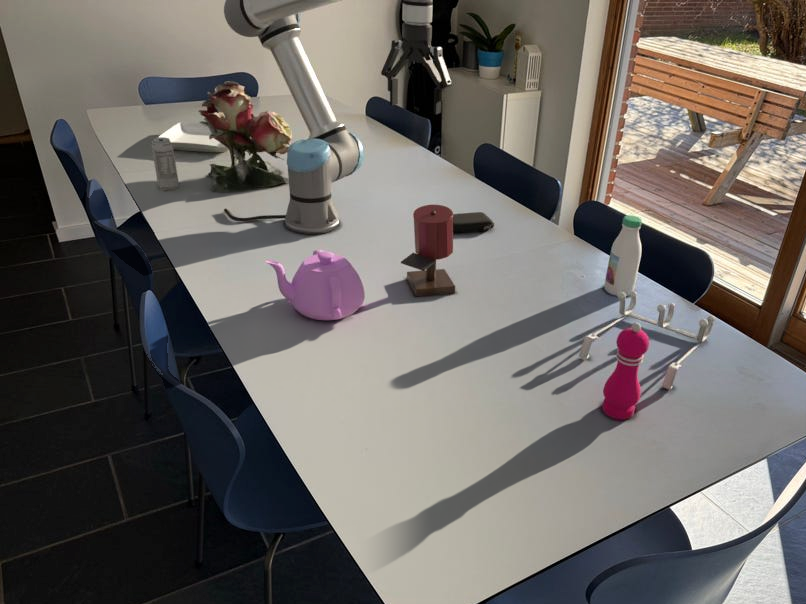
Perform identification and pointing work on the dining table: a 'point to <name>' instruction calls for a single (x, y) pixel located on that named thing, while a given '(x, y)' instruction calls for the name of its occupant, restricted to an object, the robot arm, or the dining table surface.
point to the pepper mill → (625, 374)
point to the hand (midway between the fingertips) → (415, 109)
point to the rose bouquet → (244, 139)
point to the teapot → (322, 286)
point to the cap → (431, 236)
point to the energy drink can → (164, 163)
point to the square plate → (193, 138)
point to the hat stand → (430, 282)
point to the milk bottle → (624, 258)
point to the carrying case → (471, 222)
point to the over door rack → (702, 334)
